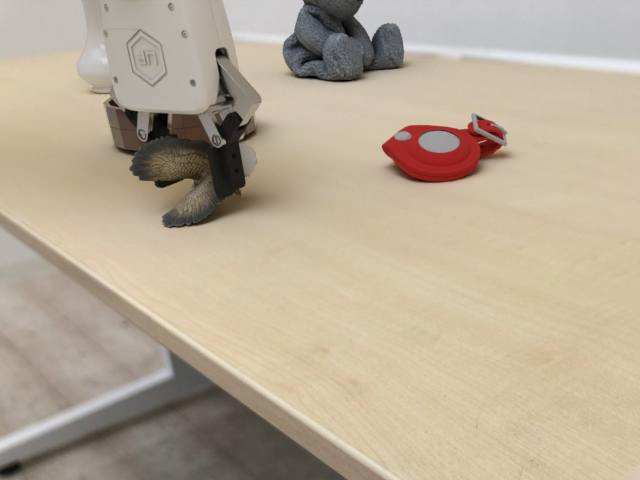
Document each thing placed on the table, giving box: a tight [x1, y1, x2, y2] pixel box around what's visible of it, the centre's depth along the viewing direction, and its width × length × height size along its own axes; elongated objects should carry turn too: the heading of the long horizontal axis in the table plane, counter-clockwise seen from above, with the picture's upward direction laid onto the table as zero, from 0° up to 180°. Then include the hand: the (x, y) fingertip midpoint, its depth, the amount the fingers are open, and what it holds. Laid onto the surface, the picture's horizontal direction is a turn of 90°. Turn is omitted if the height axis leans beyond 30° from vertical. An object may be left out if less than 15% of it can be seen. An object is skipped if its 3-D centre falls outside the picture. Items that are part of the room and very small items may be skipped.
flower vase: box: [76, 0, 113, 94], centre depth 121 cm, size 13×18×25 cm
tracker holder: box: [381, 112, 509, 183], centre depth 77 cm, size 12×4×10 cm
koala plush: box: [281, 0, 405, 81], centre depth 126 cm, size 17×18×20 cm
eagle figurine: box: [128, 136, 258, 228], centre depth 68 cm, size 8×7×9 cm
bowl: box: [102, 97, 258, 152], centre depth 93 cm, size 16×16×5 cm
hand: (200, 185), depth 69 cm, fingers closed on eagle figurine, 6 cm apart
